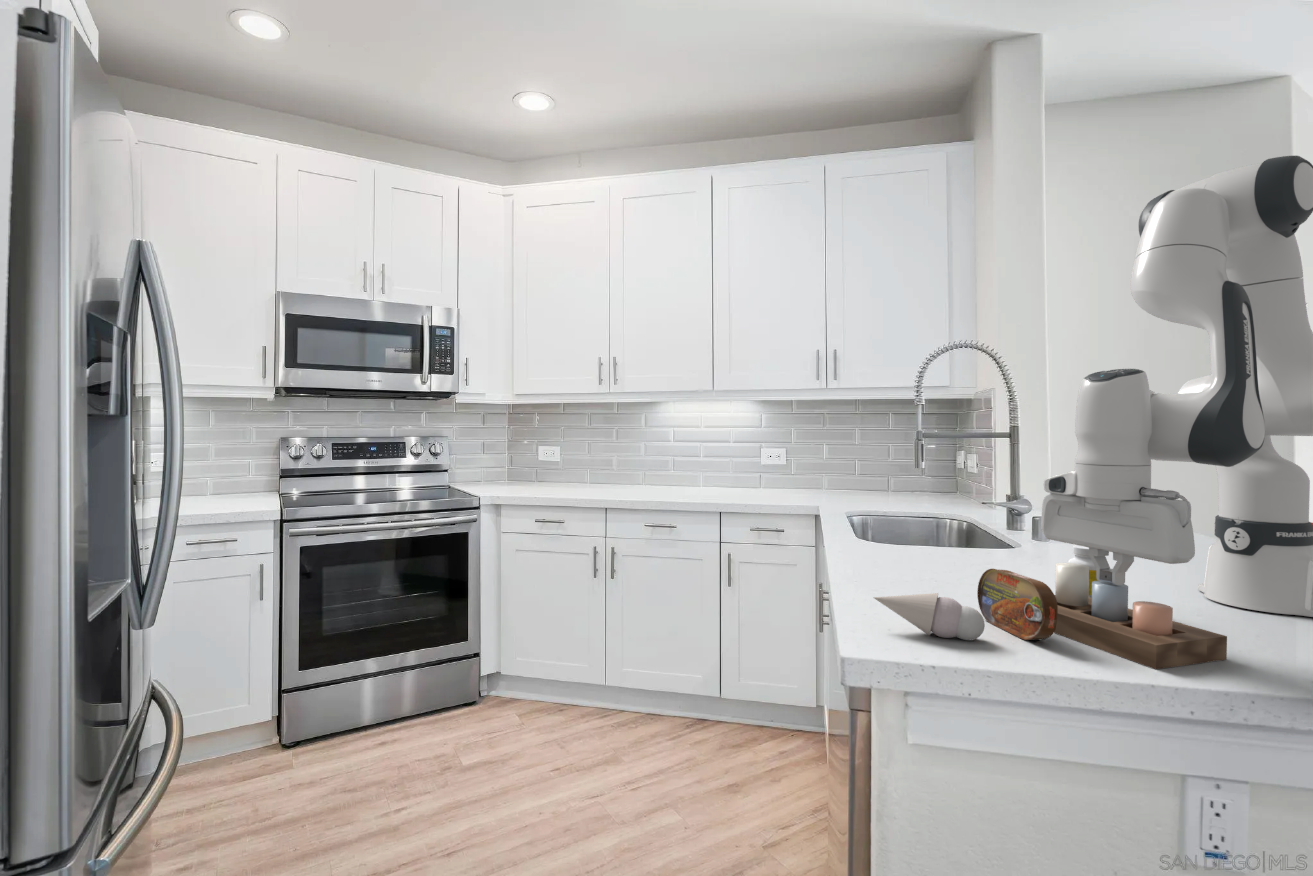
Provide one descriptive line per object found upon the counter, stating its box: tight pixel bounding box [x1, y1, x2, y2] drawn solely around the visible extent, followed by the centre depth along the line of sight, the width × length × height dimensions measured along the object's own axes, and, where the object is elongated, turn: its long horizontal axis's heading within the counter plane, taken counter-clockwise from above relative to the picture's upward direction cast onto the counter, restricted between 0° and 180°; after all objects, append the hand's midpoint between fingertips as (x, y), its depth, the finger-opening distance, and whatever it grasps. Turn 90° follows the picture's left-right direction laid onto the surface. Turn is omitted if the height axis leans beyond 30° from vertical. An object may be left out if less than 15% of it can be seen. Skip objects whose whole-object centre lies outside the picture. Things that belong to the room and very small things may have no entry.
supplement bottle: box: [1067, 544, 1099, 598], centre depth 107 cm, size 5×5×10 cm
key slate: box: [1092, 581, 1129, 622], centre depth 92 cm, size 4×4×6 cm
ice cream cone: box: [873, 592, 986, 641], centre depth 93 cm, size 6×6×15 cm
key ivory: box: [1054, 562, 1089, 606], centre depth 98 cm, size 4×4×6 cm
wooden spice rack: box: [1053, 597, 1228, 670], centre depth 92 cm, size 12×22×3 cm, turn 16°
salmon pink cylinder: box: [1132, 600, 1174, 636], centre depth 86 cm, size 4×4×6 cm
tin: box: [976, 568, 1058, 641], centre depth 95 cm, size 15×3×8 cm, turn 5°
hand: (1110, 582), depth 92 cm, fingers closed
